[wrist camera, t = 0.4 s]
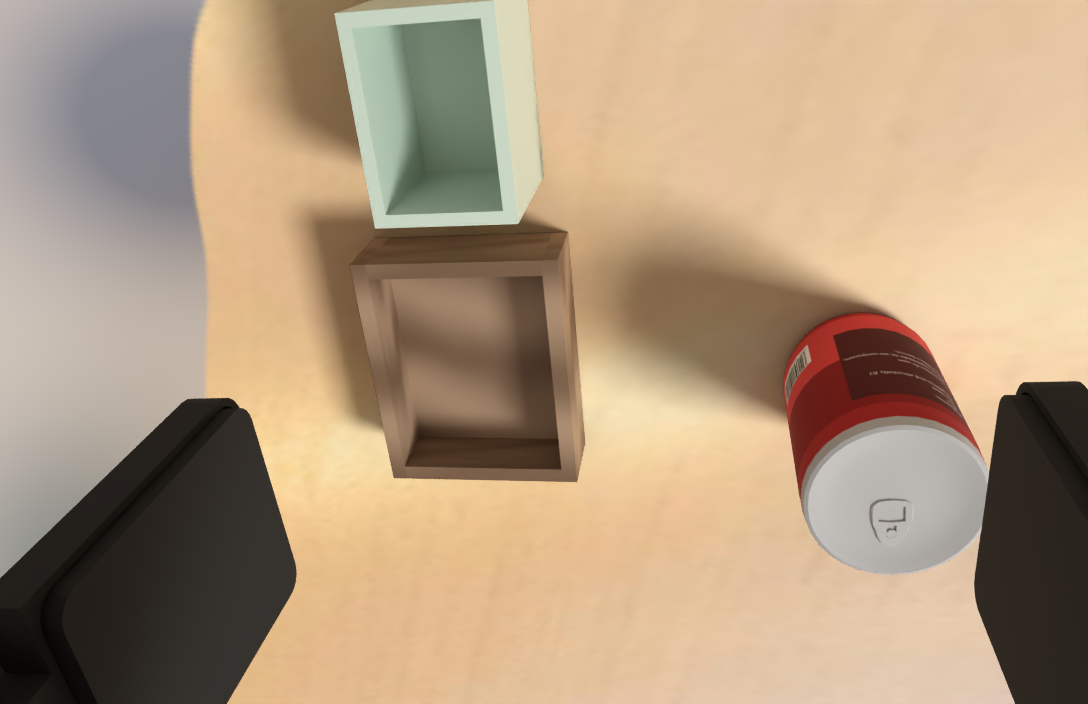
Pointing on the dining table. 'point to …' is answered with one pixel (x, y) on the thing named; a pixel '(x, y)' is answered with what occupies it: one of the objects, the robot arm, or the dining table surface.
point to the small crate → (443, 109)
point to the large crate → (474, 355)
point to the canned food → (881, 448)
